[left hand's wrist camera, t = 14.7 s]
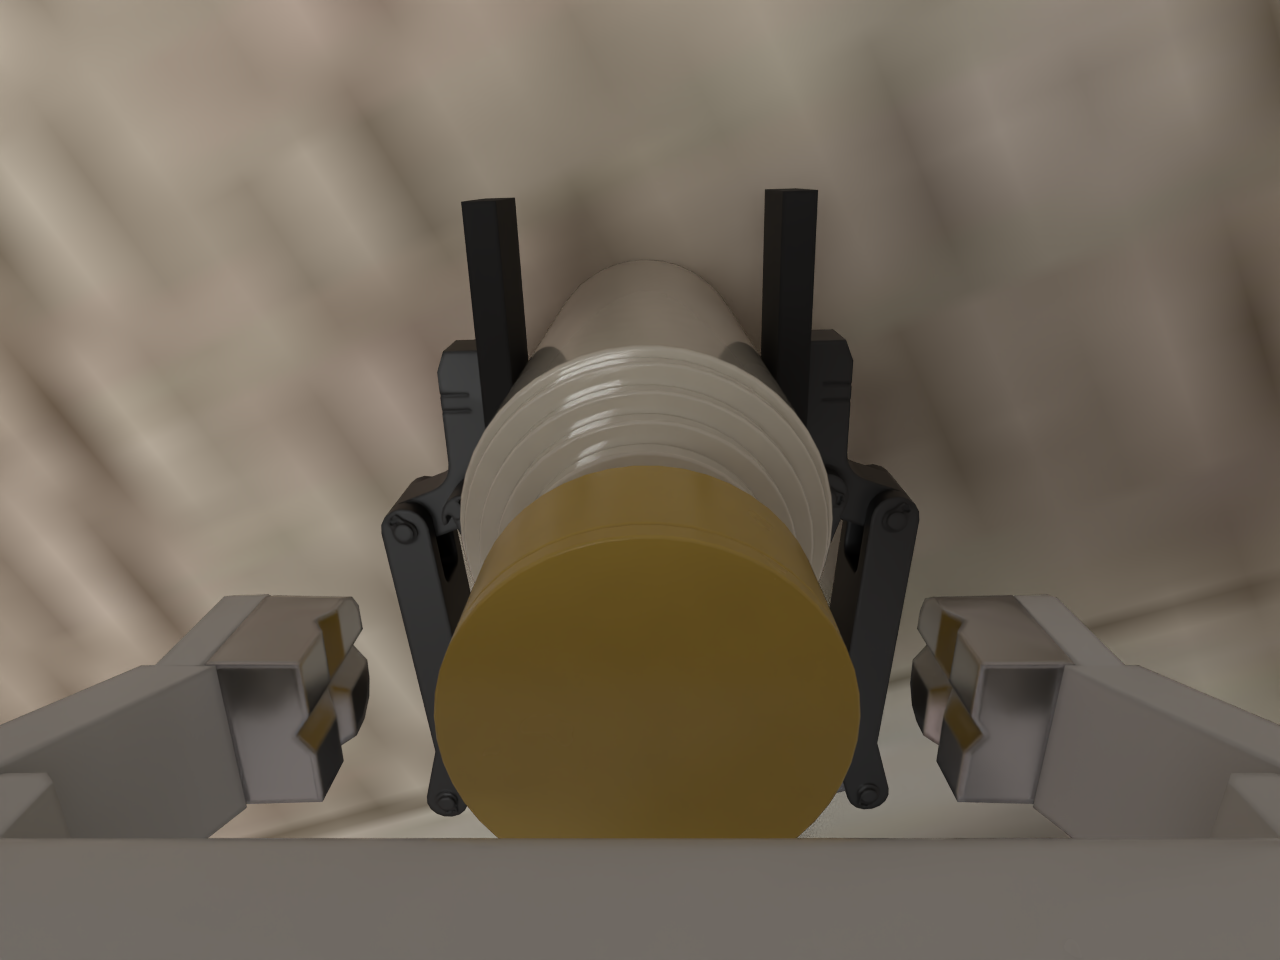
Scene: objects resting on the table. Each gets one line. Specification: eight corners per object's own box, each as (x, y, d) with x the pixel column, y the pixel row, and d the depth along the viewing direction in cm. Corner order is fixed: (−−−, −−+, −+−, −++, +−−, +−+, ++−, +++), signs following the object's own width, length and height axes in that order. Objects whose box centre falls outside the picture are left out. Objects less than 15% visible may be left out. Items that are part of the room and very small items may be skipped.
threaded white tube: (566, 241, 25) (390, 386, 8) (761, 281, 25) (1012, 504, 8) (537, 429, 27) (347, 872, 10) (716, 463, 27) (838, 945, 10)
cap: (496, 432, 9) (459, 497, 8) (864, 501, 10) (919, 580, 8) (454, 738, 11) (414, 856, 9) (771, 790, 11) (797, 915, 9)
